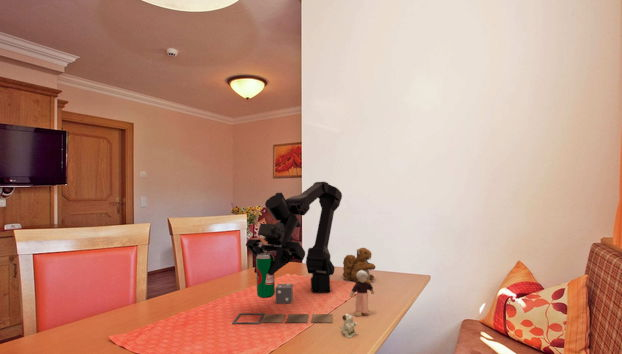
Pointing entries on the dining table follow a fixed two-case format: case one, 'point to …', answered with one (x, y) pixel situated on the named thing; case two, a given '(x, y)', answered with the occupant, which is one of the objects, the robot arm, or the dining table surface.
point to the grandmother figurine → (362, 293)
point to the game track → (290, 319)
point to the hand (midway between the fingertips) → (262, 273)
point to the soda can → (265, 275)
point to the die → (284, 293)
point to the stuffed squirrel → (358, 265)
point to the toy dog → (348, 326)
